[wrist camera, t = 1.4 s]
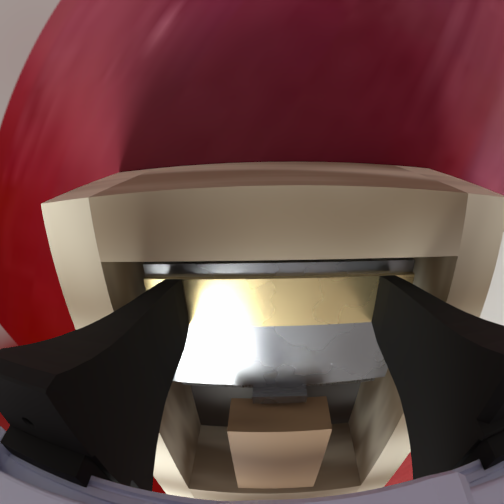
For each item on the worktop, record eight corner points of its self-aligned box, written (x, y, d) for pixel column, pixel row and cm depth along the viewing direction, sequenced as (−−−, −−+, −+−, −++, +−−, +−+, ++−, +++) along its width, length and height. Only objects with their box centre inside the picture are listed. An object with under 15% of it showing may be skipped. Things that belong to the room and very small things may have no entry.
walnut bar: (311, 461, 16) (313, 486, 14) (240, 462, 16) (238, 487, 14) (326, 396, 13) (332, 428, 11) (231, 398, 13) (227, 431, 11)
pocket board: (366, 430, 20) (380, 490, 15) (181, 433, 21) (166, 494, 15) (428, 168, 13) (508, 197, 7) (118, 172, 13) (40, 203, 8)
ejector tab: (350, 444, 16) (353, 463, 15) (200, 447, 17) (196, 466, 15) (404, 249, 11) (421, 266, 10) (151, 253, 12) (136, 271, 10)
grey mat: (501, 377, 18) (504, 381, 18) (415, 401, 19) (417, 407, 18) (556, 231, 13) (561, 234, 12) (471, 227, 13) (477, 231, 13)
